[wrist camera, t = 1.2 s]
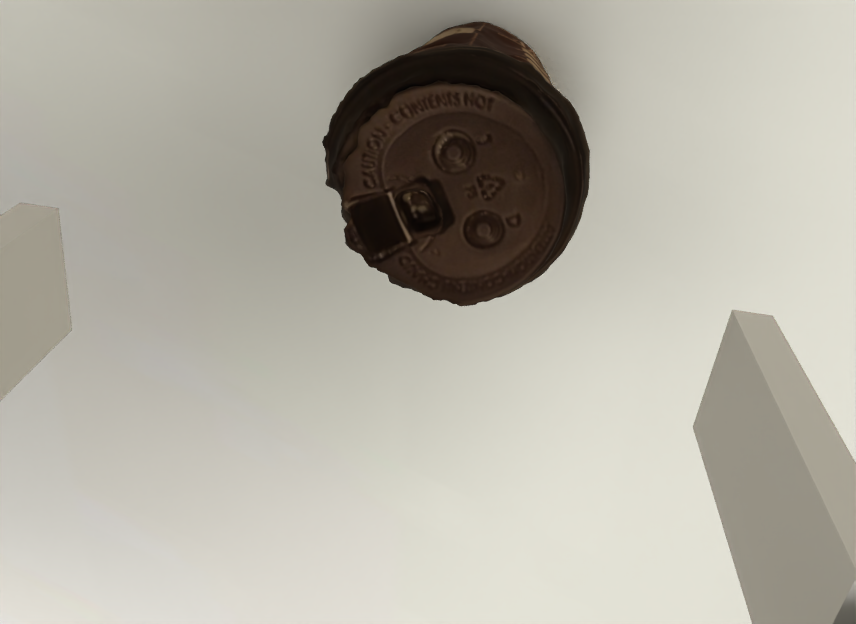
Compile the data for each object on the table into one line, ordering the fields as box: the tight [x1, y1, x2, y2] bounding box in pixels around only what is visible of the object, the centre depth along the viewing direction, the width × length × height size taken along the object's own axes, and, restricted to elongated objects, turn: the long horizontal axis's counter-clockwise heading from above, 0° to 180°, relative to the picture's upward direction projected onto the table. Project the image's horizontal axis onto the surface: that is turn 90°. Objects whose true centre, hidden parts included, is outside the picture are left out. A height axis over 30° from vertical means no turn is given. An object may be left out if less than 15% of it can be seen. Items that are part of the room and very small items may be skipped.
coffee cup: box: [322, 22, 590, 306], centre depth 30 cm, size 9×8×13 cm
